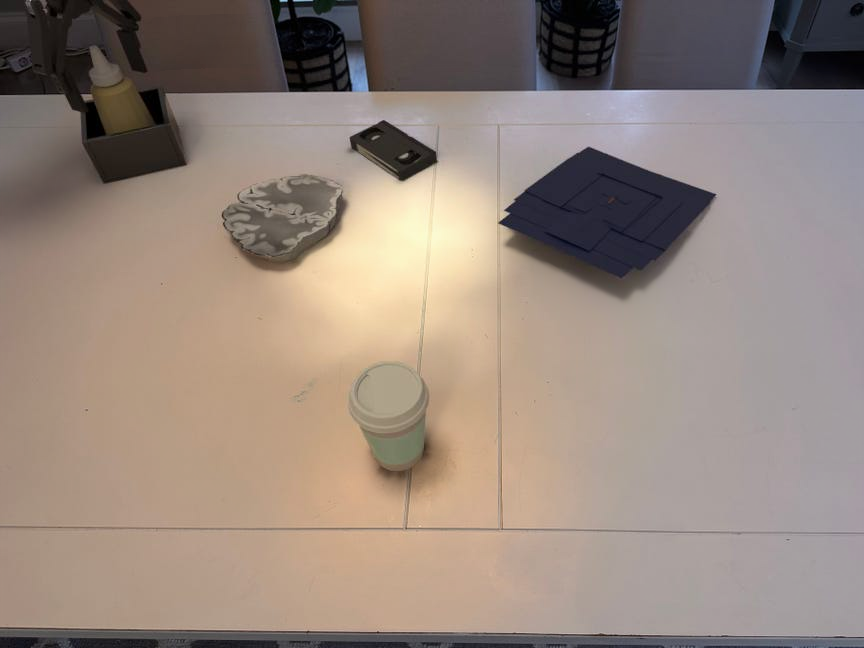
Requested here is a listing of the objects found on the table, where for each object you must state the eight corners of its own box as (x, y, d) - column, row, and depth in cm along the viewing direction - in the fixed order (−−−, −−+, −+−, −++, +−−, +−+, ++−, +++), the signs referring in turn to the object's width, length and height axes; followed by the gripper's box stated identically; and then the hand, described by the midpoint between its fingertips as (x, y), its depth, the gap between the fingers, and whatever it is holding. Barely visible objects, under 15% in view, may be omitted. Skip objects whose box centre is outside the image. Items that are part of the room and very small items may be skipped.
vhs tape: (350, 147, 119) (348, 137, 117) (385, 129, 122) (383, 119, 121) (401, 181, 112) (400, 171, 111) (437, 162, 116) (436, 151, 114)
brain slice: (269, 180, 113) (264, 165, 111) (360, 200, 109) (358, 184, 107) (201, 254, 101) (195, 239, 99) (301, 279, 97) (296, 264, 95)
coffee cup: (382, 411, 82) (368, 347, 73) (446, 432, 80) (440, 369, 71) (349, 468, 77) (329, 407, 68) (416, 492, 75) (406, 433, 66)
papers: (485, 233, 101) (487, 213, 99) (584, 160, 119) (587, 141, 117) (630, 300, 92) (635, 279, 89) (713, 209, 110) (720, 190, 107)
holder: (103, 183, 113) (81, 142, 107) (100, 142, 121) (79, 101, 115) (186, 165, 116) (169, 124, 110) (177, 125, 124) (161, 85, 118)
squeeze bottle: (174, 145, 119) (131, 43, 105) (136, 168, 114) (86, 64, 100) (144, 131, 122) (99, 30, 108) (106, 153, 117) (54, 51, 103)
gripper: (-7, -17, 85) (72, 134, 101) (130, -81, 100) (179, 59, 116) (-50, -27, 87) (34, 123, 103) (90, -88, 101) (145, 51, 118)
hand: (111, 90), depth 109 cm, fingers open, 13 cm apart
